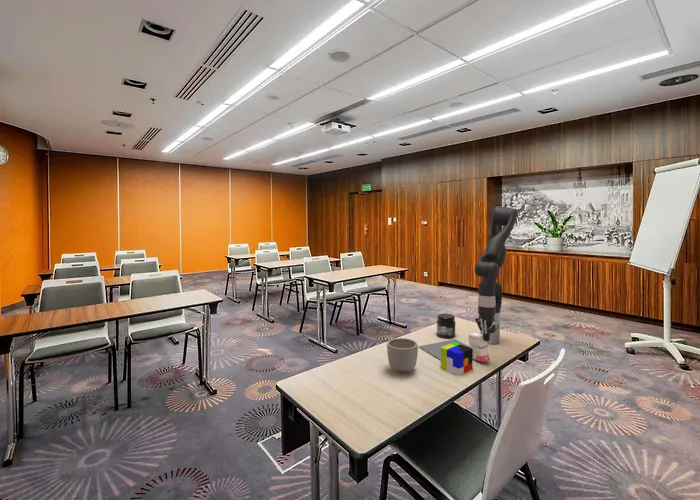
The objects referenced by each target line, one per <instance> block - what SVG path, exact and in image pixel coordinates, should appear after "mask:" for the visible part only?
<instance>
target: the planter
mask: <svg viewBox="0 0 700 500" xmlns="http://www.w3.org/2000/svg"><path fill="white" fill-rule="evenodd" d="M418 350H419V345H418V342H417V341H416V340H414V339H411V338H405V337H398V338H397V337H396V338H391V339H389V340H387V342H386V352H387V361H388V365H389V367H390V368H391V369H392V370H394V372H396V373H397V374H399V375H404V374H405V375H406V374H409V373H410V372H411V371H412V370H413V369H414V368H415V367H416V365H417V362H418V361H417V360H418Z"/></svg>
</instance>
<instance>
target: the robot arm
mask: <svg viewBox="0 0 700 500" xmlns="http://www.w3.org/2000/svg"><path fill="white" fill-rule="evenodd" d="M517 218H518V210H517V209H516V208H513V207H508V206H501V205H500V206H499V205H497V206H495V207H494V208H493V211H492V214H491V221H490V222H491V223H490V232H489V239H488V242H487V244H486V247H485V251H484V253H483V254H482V255H481V256H480V258H479V259H478V261H477V262H476V263H475V265H474V273H475V275H476V276H477V277H481V280H480V282H479V284H478V298H477V314H478V317H477V318H475V319H474V321H475V323H476V324H477V327H478V329H479V334H481V335H483V340H484V341H486V342H487V345H498V344H500V342H501V340H500V339H501V337H500V335H501V310H502V309H501V308H502V302H503V301H502V300H503V287H502V285H501V283H500V282H498V281H497V280H498V277H499V274H500V270H501V268H502V267H503V265H504V264H505V261H506V255H507V249H506V245H505V244H506V242H507V239H508V238H509V236H510V234H511V232H512V230H513V229H514V226H515V224H516V222H517ZM499 226H501V227H503V229H502V230H501V231H500V230H499Z"/></svg>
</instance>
